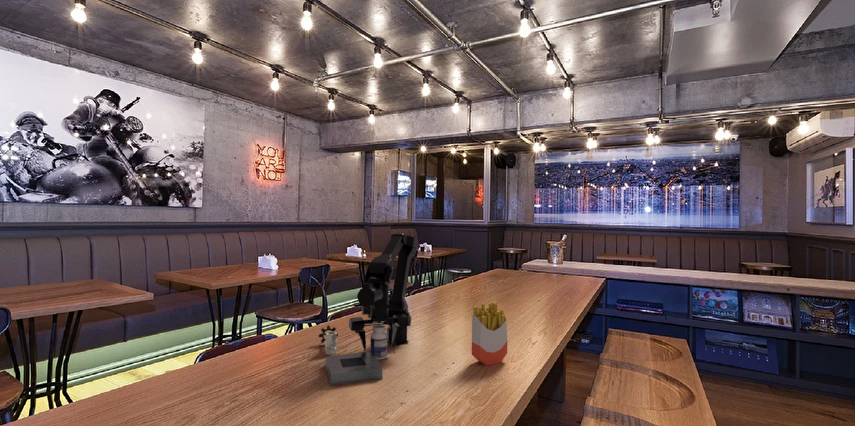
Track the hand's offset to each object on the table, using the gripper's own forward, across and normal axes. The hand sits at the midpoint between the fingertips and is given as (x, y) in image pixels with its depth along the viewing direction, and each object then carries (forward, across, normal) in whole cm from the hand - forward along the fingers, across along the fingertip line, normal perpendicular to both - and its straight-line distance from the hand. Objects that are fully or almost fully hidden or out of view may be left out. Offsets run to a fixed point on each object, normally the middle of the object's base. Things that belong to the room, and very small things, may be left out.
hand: (378, 348), depth 124 cm
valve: (+3, +14, -12) cm, 19 cm away
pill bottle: (+3, 0, 0) cm, 3 cm away
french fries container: (+3, -32, +15) cm, 35 cm away
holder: (+3, +10, +10) cm, 14 cm away
